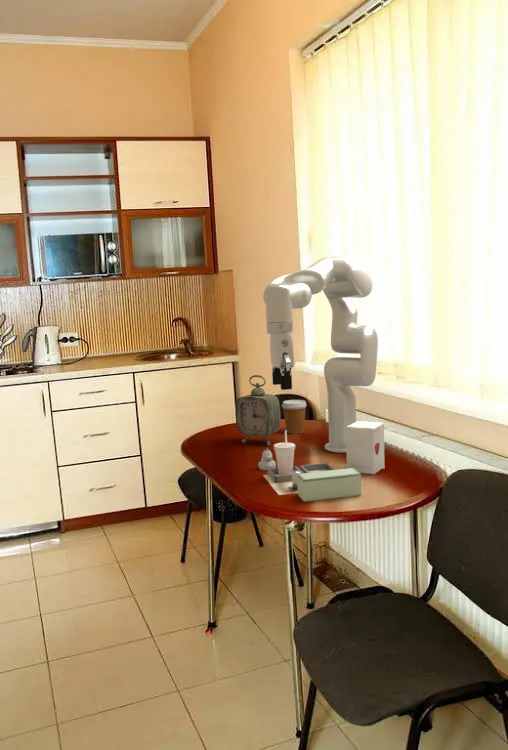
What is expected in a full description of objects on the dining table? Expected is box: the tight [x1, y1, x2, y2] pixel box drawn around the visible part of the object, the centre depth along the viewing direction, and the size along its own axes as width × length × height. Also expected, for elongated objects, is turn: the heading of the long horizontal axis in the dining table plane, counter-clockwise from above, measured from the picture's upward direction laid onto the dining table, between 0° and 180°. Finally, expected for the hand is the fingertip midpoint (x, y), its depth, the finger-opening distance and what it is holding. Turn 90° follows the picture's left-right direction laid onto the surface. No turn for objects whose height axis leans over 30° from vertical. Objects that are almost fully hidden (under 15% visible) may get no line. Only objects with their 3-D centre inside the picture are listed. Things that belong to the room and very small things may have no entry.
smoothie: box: [273, 429, 296, 476], centre depth 208 cm, size 6×6×14 cm
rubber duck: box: [258, 447, 277, 471], centre depth 219 cm, size 5×7×8 cm
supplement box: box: [346, 420, 385, 475], centre depth 212 cm, size 9×9×15 cm
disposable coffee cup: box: [281, 399, 308, 435], centre depth 270 cm, size 10×10×12 cm
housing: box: [297, 468, 362, 502], centre depth 190 cm, size 16×6×7 cm, turn 102°
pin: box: [292, 470, 300, 490], centre depth 196 cm, size 2×2×5 cm
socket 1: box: [267, 465, 303, 483], centre depth 208 cm, size 9×9×2 cm
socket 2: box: [299, 462, 337, 473], centre depth 210 cm, size 9×9×2 cm
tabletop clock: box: [235, 374, 281, 447], centre depth 255 cm, size 14×9×25 cm, turn 56°
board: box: [262, 469, 328, 496], centre depth 204 cm, size 22×20×1 cm
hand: (282, 386), depth 204 cm, fingers open, 9 cm apart
